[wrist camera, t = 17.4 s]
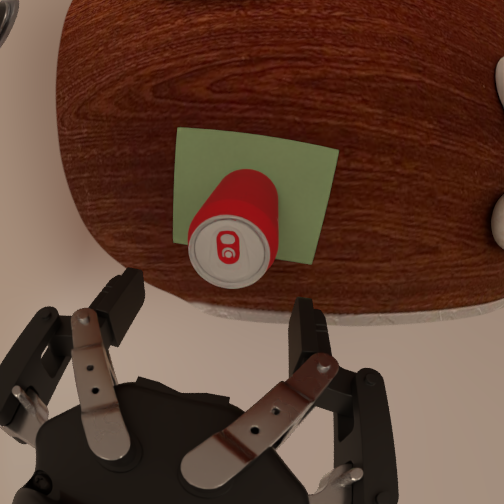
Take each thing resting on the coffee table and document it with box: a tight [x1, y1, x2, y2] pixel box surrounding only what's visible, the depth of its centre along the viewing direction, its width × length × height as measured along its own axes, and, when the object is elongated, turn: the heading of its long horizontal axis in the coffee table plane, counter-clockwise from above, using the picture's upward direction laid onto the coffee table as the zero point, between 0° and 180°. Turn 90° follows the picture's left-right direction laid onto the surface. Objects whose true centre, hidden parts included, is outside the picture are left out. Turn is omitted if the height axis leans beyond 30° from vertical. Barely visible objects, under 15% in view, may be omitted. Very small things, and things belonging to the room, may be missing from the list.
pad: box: [173, 128, 339, 264], centre depth 28 cm, size 16×13×1 cm
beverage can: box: [188, 169, 279, 289], centre depth 22 cm, size 6×6×12 cm
